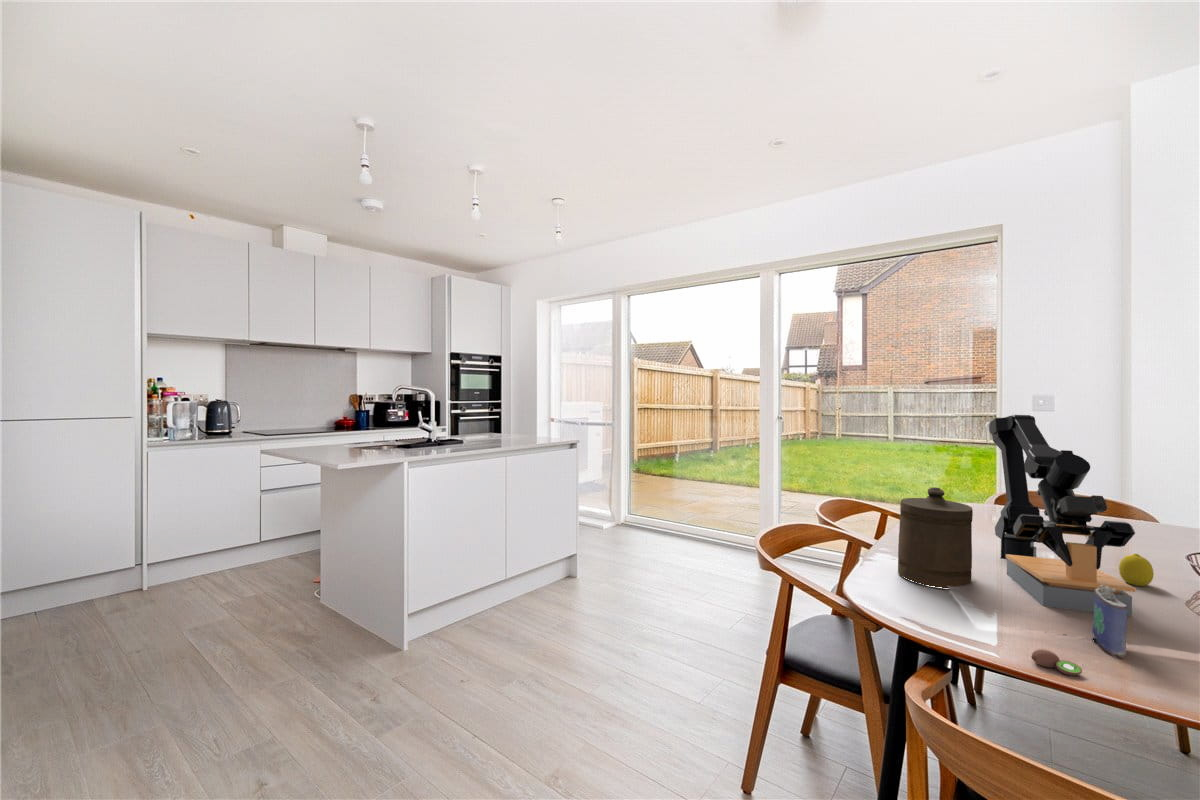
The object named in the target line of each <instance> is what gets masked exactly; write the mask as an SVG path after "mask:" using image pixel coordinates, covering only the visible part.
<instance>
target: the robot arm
mask: <svg viewBox="0 0 1200 800" xmlns="http://www.w3.org/2000/svg"><path fill="white" fill-rule="evenodd" d="M988 429H989V434H990V435H991V437H992V438H991V439H992V442H993V443H994V444H995V446H996V447H998V448H999V450H1000V452H1001V462H1002V469H1003V479H1004V486H1005V487H1004V488H1005V497H1006V503H1005V505H1004V506H1003V508H1002V509H1001V511H1000V516H999V518H998V520H997V522H996V524H995V526H994V531H995V532H994V533H995V536H996V537H997V538H999V539H1000V557H999V559H1002V560H1007V558H1006V554H1010V555H1019V556H1029V557H1037V547H1036V546H1035V543H1036V544H1037V543H1039V544H1042V545H1044V546H1045V547H1046V548H1048V549H1049V550H1051V552H1053V554H1055V555H1056V556H1057V557H1059V559H1060V560H1063V561H1064V562H1065V563H1066V564H1067V565H1068V566H1072V564H1073V563H1072V559H1071V556H1070V554H1069V551H1068V549H1067V547H1066V541H1065V540H1064V536H1063V535H1071V536H1072V535H1074V536H1083V537H1085V538H1086V542H1085V543H1084V544H1091V545H1093V546H1095V547H1097V569H1098V570H1100V568H1101V563H1102V553H1103V552H1102V551H1103V548H1104V547H1105V546H1106V547H1118V548H1122V547H1125V546H1126V545H1127V544H1128V543H1129V541H1130V540H1131V539H1132V538H1133V537H1134V535H1135V534H1136V532H1135V529H1134V528H1133V525H1131V524H1130V523H1129V522H1126V521H1117V520H1116V521H1115V520H1114V521H1113V520H1104V521H1103V522H1102V523H1101V525H1100V526H1094V525H1088V524H1087V523H1091V522H1092V520H1093V518H1092V515H1097V514H1098V513H1100V514H1101V513H1103V512H1106V511H1107V509H1108V505H1107V502H1106V500H1105V498H1104V496H1103V495H1095V494H1094V495H1091V496H1076V493H1075V491H1074V490H1076V489H1078V488H1079V487H1080V486H1081V484H1082V482H1083V481H1084V480H1085V478H1086V476H1087V475H1088V473H1089V472H1090V470H1091V464H1090V463H1089V461H1087V460H1086V459H1085V458H1084V457H1081V456H1080V455H1077V454H1074V452H1073V450H1066V449H1063V450H1062V449H1061V450H1060V451H1059V450H1058V449H1055V448H1053V447H1051V446H1050V445H1049V444H1048V442H1047V440H1046V439H1045V436H1044V435H1043V434H1042V432H1041V431H1040V429H1039V427H1038V426H1037V423H1036V417H1035V416H1033V415H1030V414H1012V415H1008V416H1005V417H995V418H994V419H992V420H991V421H990V422H989V424H988ZM1024 453H1025V455H1026V458H1025V457H1024V456H1025V455H1024ZM1027 475H1028V476H1029V477H1030V478H1031V479H1035V480H1037V479H1038V480H1040V481H1039V483H1038V484H1037V487H1038V489H1037V493H1036V494H1037V495H1038V496H1040V497H1041V498H1042V499H1041V500H1042V502H1043V505H1044V508H1045V509H1044V511H1043V513H1044V515H1045V516H1046V517H1047V518H1048V519H1049V520H1048V519H1047V520H1046V519H1044V517H1043V516H1042V515H1041V514H1040V512H1041V511H1040V508H1039V507H1037V506H1035V505H1034V504H1033V503H1032V502H1030V497H1029V496H1030V495H1029V487H1028V480H1027Z"/></svg>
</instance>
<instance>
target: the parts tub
mask: <svg viewBox="0 0 1200 800" xmlns="http://www.w3.org/2000/svg"><path fill="white" fill-rule="evenodd" d="M1006 575H1007V576H1008V577H1009V578H1011V580H1013V581H1014V583H1016V584H1017V585H1018V586H1020V588H1022V589H1023V590H1024V591H1025V592H1026V593H1027V594H1029V595H1030V596H1031V597H1032V598H1033V599H1034V600H1035V601H1037V602H1038V603H1039V604H1040V605H1041V606H1043V607H1050V608H1055V609H1056V608H1058V609H1066V610H1074V611H1080V612H1086V613H1087V612H1089V613H1094V591H1092V590H1083V589H1075V588H1066V587H1058V586H1049V585H1047V584H1045V583H1044V582H1042V581H1041V580H1039V579H1038V578H1036V577H1035V576H1033V575H1032V574H1030V573H1029V572H1027V571H1026V570H1024V569H1023V568H1021V567H1020V566H1018V565H1017V564H1015V563H1013V562H1012V561H1010V560H1009V559H1006ZM1114 594H1115V595H1114V597H1115V598H1116V599H1118V600H1119V601H1120V602H1122V603H1123V604H1125V605H1126V606H1127V618H1128V617H1129V618H1132V615H1133V613H1132V612H1133V596H1132V595H1131V594H1128V593H1127V592H1126V591H1121V590H1120V594H1118V593H1114Z"/></svg>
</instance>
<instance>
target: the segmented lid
mask: <svg viewBox="0 0 1200 800" xmlns="http://www.w3.org/2000/svg"><path fill="white" fill-rule="evenodd" d="M1065 544H1066V547H1067V549H1068V551H1069V554H1070V556H1071V559H1072V563H1073V564H1072V566H1068V565H1067V564H1066V563H1065V562H1064V561H1063V560H1062V559H1060V558H1059V559H1058V558H1047V557H1038V556H1036V557H1029V556H1019V555H1010V554H1006V558H1007V559H1009V560H1010V561H1012V562H1013V563H1015V564H1017V565H1018V566H1020V567H1021V568H1023V569H1024V570H1026V571H1027V572H1029V573H1030V574H1032V575H1033V576H1035V577H1036V578H1038V579H1039V580H1041V581H1042V582H1044V583H1045V584H1047V585H1049V586H1058V587H1066V588H1075V589H1083V590H1092V591H1094V590H1095V589H1097V588H1100V585H1104V586H1103V587H1102V588H1104V587H1105V586H1109V587H1110V588H1111V589H1114V588H1116V591H1115V592H1113V593H1118V594H1120V590H1121V591H1124V592H1132V593H1136V589H1137V588H1136V587H1134V586H1133V585H1131V584H1129V583H1127V582H1125V581H1122V580H1120V579H1118V578H1116V577H1114V576H1112V575H1110V574H1108V573H1105V572H1104V571H1102V570H1100V569H1097V547H1095V546H1093V545H1091V544H1085V543H1081V542H1080V543H1079V542H1069V541H1065ZM1007 559H1006V560H1007ZM1102 588H1101V589H1102Z"/></svg>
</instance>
